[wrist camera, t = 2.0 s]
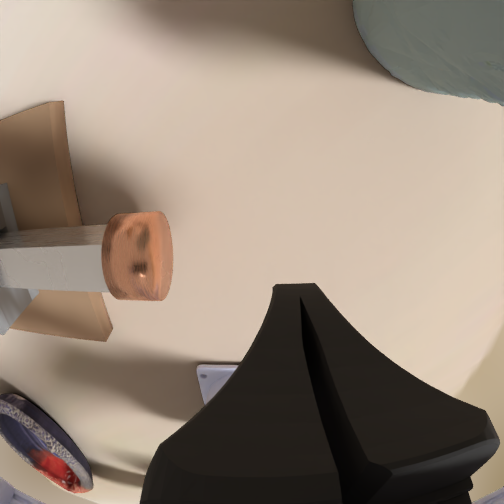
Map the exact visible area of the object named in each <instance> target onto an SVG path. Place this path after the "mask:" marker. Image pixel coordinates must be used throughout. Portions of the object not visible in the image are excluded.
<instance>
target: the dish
mask: <svg viewBox="0 0 504 504" xmlns="http://www.w3.org/2000/svg"><path fill="white" fill-rule="evenodd" d="M0 434H1V436H2V437H3V438H4V439H5V441H6V442H7V443H8V444H9V445H10V447H11V448H12V449H13V450H14V451H15V452H16V453H17V454H18V455H19V456H20V457H21V458H22V459H24V460H25V461H26V462H27V463H28V464H30V465H31V466H32V467H33V468H35V469H36V470H37V471H39V472H40V473H42V474H43V475H44V476H46V477H47V478H49V479H50V480H52V481H53V482H55V483H56V484H58V485H59V486H61V487H63V488H64V489H66V490H68V491H71V492H73V493H85V492H88V491H91V490H92V489H93V479H92V473H91V469H90V466H89V464H88V462H87V460H86V458H85V457H84V455H83V454H82V453H81V451H80V450H79V449H78V447H77V446H76V445H75V444H74V443H73V441H72V440H71V439H70V438H69V437H68V436H67V435H66V433H65V432H64V431H63V430H62V429H61V428H60V427H59V426H58V425H57V424H56V423H55V422H54V421H52V420H51V419H50V418H49V417H48V416H47V415H46V414H45V413H43V412H42V411H41V410H40V409H39V408H37V407H36V406H35V405H33V404H32V403H31V402H29V401H28V400H26V399H24V398H23V397H21V396H18V395H16V394H12V393H9V394H1V395H0Z"/></svg>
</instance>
